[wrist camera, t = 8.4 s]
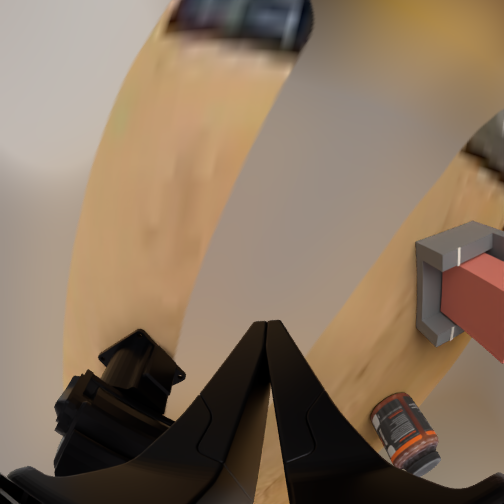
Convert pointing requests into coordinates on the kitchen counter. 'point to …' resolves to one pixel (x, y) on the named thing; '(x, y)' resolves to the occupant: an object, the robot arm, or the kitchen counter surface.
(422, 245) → the housing
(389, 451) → the supplement bottle
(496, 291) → the pink block with dome
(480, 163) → the kitchen counter surface
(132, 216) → the kitchen counter surface
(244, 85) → the kitchen counter surface
